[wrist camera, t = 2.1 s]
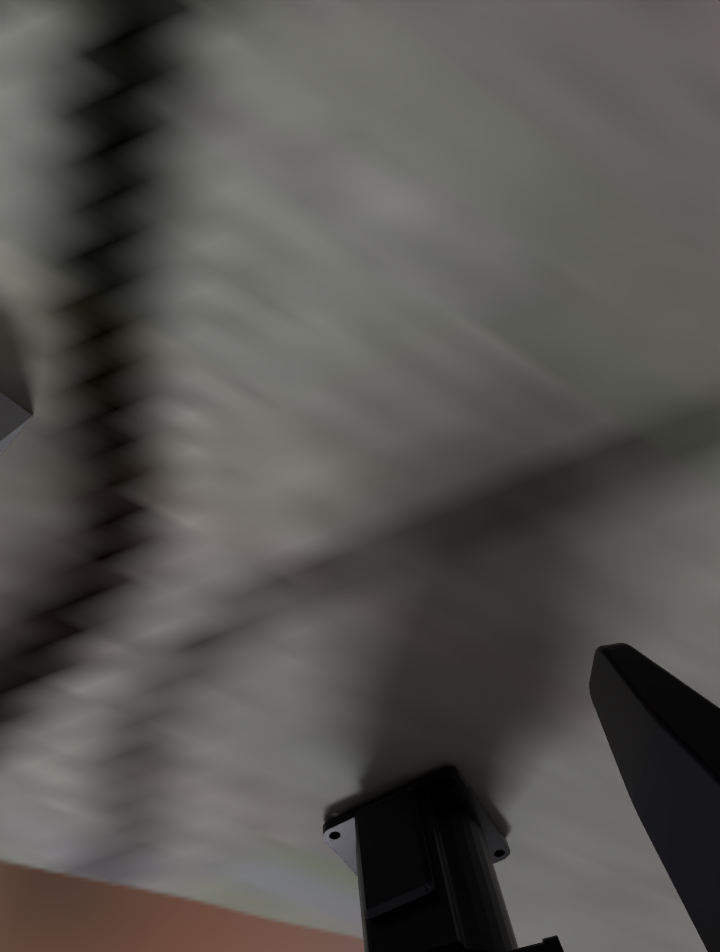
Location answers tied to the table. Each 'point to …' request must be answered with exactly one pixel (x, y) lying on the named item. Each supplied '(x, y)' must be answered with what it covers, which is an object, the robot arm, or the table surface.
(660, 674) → the robot arm
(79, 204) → the table surface
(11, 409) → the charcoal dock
